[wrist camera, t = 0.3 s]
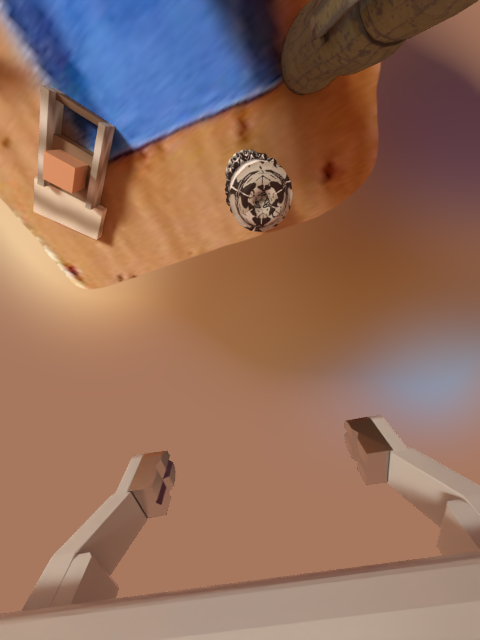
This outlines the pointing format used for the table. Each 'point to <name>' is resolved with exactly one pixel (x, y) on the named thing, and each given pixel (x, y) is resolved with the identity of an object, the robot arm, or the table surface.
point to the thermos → (353, 36)
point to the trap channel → (82, 205)
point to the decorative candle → (257, 190)
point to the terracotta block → (64, 170)
